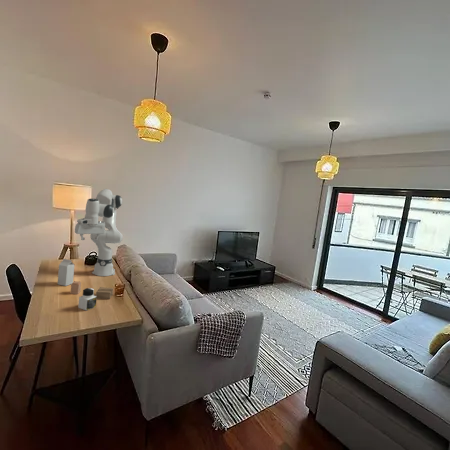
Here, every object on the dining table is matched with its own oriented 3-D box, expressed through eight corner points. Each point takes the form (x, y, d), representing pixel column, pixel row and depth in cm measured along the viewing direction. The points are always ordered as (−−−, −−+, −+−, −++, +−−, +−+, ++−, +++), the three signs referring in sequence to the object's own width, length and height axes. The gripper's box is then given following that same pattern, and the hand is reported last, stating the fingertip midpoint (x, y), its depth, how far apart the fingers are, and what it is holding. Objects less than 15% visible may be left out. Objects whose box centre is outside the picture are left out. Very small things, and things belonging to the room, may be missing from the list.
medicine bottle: (86, 310, 158) (88, 292, 157) (77, 307, 160) (79, 289, 159) (95, 307, 165) (97, 288, 164) (87, 304, 167) (89, 286, 166)
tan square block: (99, 293, 186) (100, 287, 185) (112, 294, 188) (113, 288, 187) (95, 298, 177) (96, 291, 176) (109, 299, 179) (110, 292, 178)
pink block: (72, 291, 183) (73, 281, 183) (80, 291, 184) (81, 281, 184) (70, 293, 179) (71, 283, 178) (77, 294, 180) (78, 283, 179)
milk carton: (65, 286, 190) (67, 261, 189) (57, 284, 192) (59, 259, 190) (73, 283, 197) (75, 259, 196) (65, 281, 198) (67, 257, 197)
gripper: (103, 221, 197) (101, 238, 198) (74, 219, 180) (72, 239, 181) (107, 222, 193) (105, 240, 194) (78, 221, 177) (76, 241, 177)
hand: (89, 239), depth 187 cm, fingers open, 8 cm apart
